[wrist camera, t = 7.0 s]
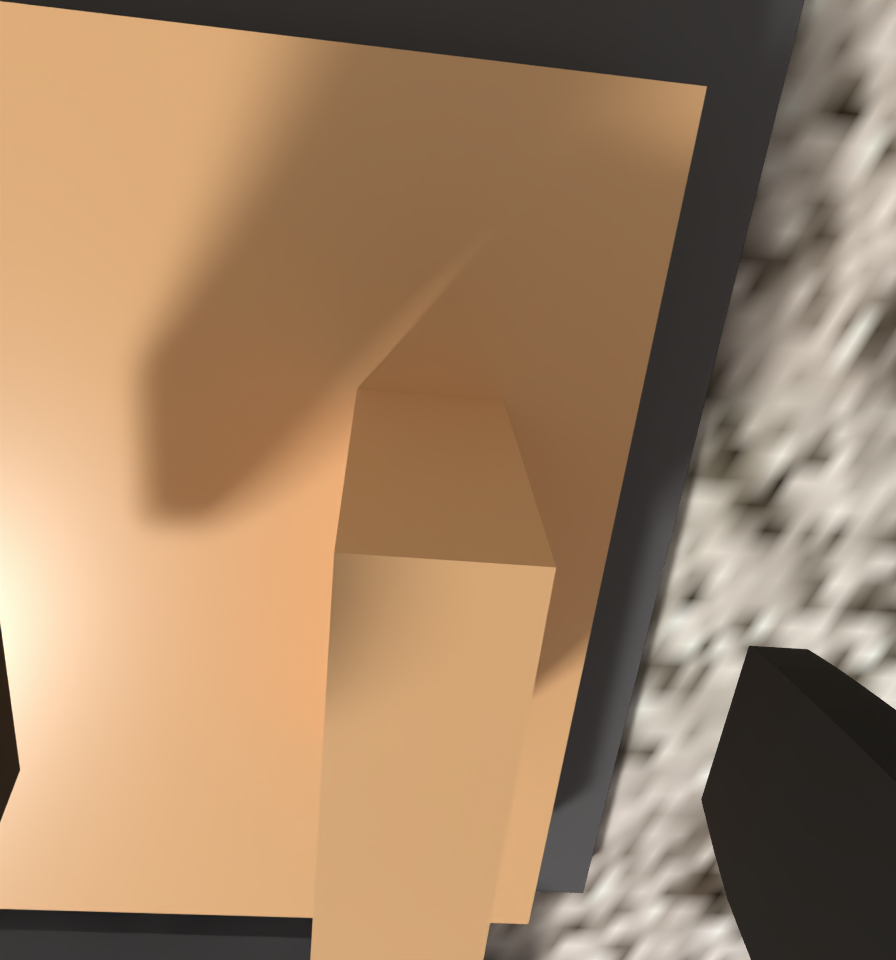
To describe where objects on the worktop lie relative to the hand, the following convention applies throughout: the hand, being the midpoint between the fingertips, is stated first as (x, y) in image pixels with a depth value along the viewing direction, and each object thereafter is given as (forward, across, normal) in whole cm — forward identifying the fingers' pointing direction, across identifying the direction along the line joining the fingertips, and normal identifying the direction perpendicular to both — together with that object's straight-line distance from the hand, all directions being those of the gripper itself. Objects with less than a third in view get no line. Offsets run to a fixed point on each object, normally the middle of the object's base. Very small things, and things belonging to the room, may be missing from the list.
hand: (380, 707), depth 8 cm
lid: (+3, +6, 0) cm, 6 cm away
